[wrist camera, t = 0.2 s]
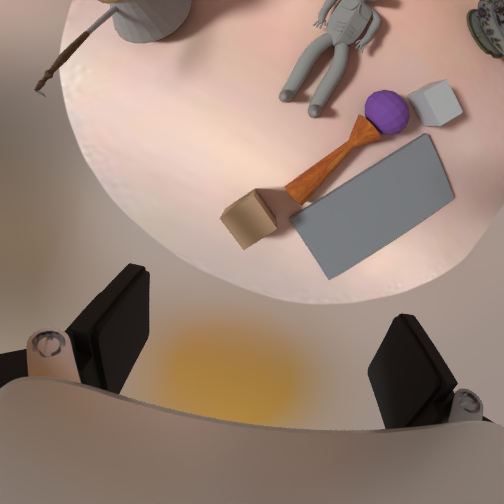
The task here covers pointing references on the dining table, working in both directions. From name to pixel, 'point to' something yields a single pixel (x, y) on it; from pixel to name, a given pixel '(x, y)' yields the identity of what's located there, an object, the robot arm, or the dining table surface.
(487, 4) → the apothecary jar
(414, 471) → the robot arm
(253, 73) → the dining table surface
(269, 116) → the dining table surface
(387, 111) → the kendama
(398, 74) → the dining table surface
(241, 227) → the walnut block
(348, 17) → the alien figure
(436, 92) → the grey block
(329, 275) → the charcoal mat
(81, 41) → the coffee pot
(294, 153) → the dining table surface
